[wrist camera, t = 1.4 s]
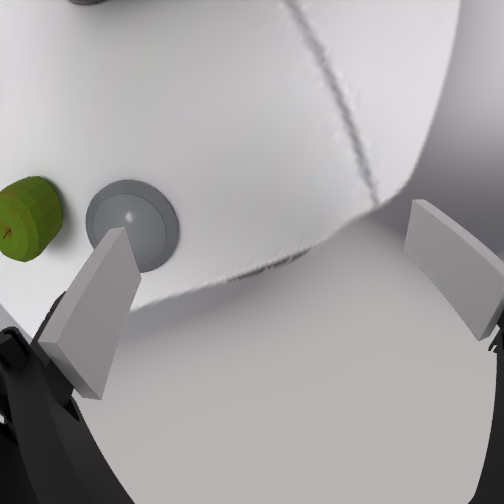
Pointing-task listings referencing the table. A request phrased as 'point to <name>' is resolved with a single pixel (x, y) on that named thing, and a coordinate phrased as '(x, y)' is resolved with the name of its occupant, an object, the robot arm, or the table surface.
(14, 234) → the apple
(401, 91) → the table surface
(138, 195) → the slate plate
